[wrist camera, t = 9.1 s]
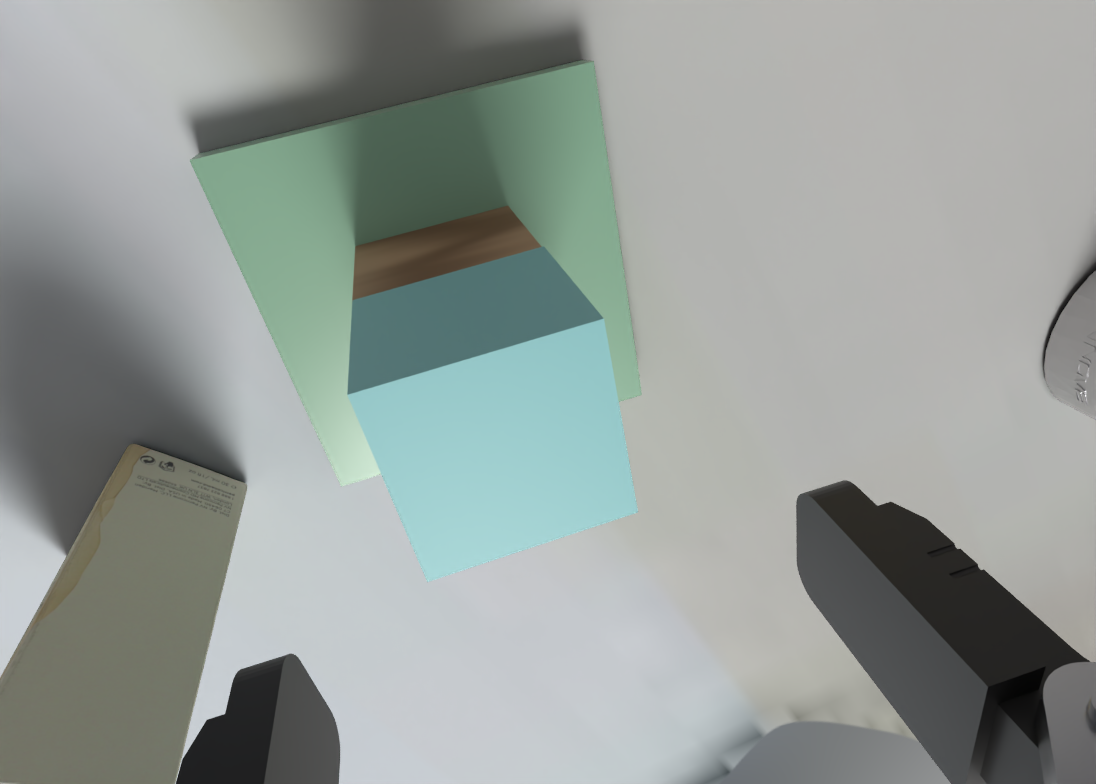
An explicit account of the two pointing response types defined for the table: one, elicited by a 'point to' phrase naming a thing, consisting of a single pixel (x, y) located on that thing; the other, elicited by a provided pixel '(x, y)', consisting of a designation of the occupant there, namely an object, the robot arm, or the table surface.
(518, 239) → the walnut brick
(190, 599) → the skincare box
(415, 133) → the plate
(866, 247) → the table surface
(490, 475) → the teal brick
